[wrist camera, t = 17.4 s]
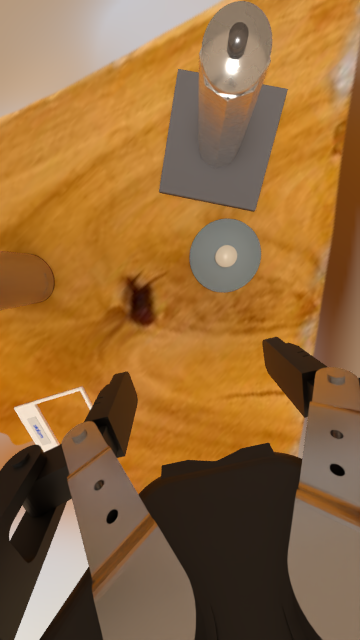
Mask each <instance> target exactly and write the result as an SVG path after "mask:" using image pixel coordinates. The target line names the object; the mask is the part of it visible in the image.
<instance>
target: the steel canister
mask: <svg viewBox="0 0 360 640" xmlns="http://www.w3.org/2000/svg"><path fill="white" fill-rule="evenodd" d="M271 49H272V32H271V27H270V24H269V21H268V19H267V17H266V15H265V14H264V13H263V11H262V10H261V9H260V8H259V7H257V6H256V5H254V4H252V3H250V2H245V1H238V2H233V3H230V4H228V5H226V6H224V7H223V8H222V9H220V10H219V11H218V12H217V13H216V14H215V15H214V17H213V18H212V19H211V21H210V23H209V24H208V26H207V29H206V31H205V34H204V37H203V42H202V48H201V50H200V53H199V101H198V145H199V150H200V155H201V160H202V161H204V162H205V163H207V164H208V165H210V166H211V167H213V168H214V169H216V168H219V167H222V166H225V165H228V164H231V162H232V160H233V159H234V157H235V155H236V153H237V152H238V150H239V148H240V146H241V143H242V140H243V137H244V135H245V132H246V129H247V126H248V123H249V121H250V118H251V115H252V112H253V109H254V107H255V104H256V101H257V98H258V95H259V93H260V90H261V87H262V84H263V81H264V79H265V76H266V73H267V70H268V67H269V65H270V62H271V60H270V54H271Z"/></svg>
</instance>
